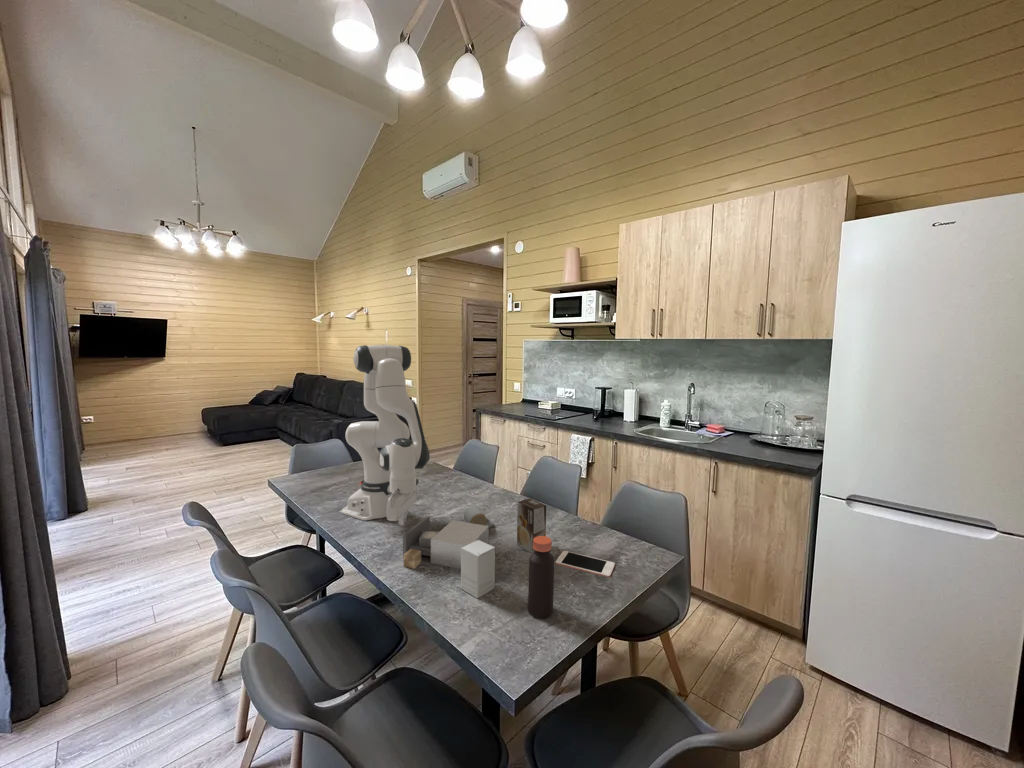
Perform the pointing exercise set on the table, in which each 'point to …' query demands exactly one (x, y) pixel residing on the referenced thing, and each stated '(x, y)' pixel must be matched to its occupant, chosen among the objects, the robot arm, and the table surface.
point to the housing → (455, 542)
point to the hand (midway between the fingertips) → (402, 523)
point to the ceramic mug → (476, 516)
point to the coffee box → (530, 522)
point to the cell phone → (586, 563)
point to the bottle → (541, 578)
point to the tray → (416, 537)
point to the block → (412, 558)
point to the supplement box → (477, 568)
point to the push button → (426, 538)
